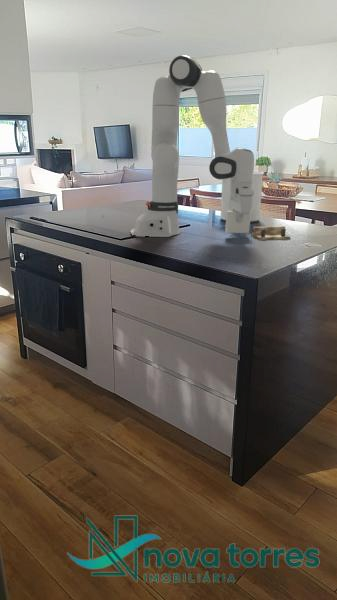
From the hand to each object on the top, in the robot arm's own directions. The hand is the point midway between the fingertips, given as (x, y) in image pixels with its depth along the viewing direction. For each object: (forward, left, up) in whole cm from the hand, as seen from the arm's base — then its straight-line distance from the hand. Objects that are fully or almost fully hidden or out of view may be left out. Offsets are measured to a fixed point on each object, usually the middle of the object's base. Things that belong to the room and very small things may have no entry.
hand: (238, 221), depth 192 cm
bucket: (+14, +42, -7) cm, 45 cm away
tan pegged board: (+15, -1, -7) cm, 16 cm away
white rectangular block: (0, 0, -5) cm, 5 cm away
